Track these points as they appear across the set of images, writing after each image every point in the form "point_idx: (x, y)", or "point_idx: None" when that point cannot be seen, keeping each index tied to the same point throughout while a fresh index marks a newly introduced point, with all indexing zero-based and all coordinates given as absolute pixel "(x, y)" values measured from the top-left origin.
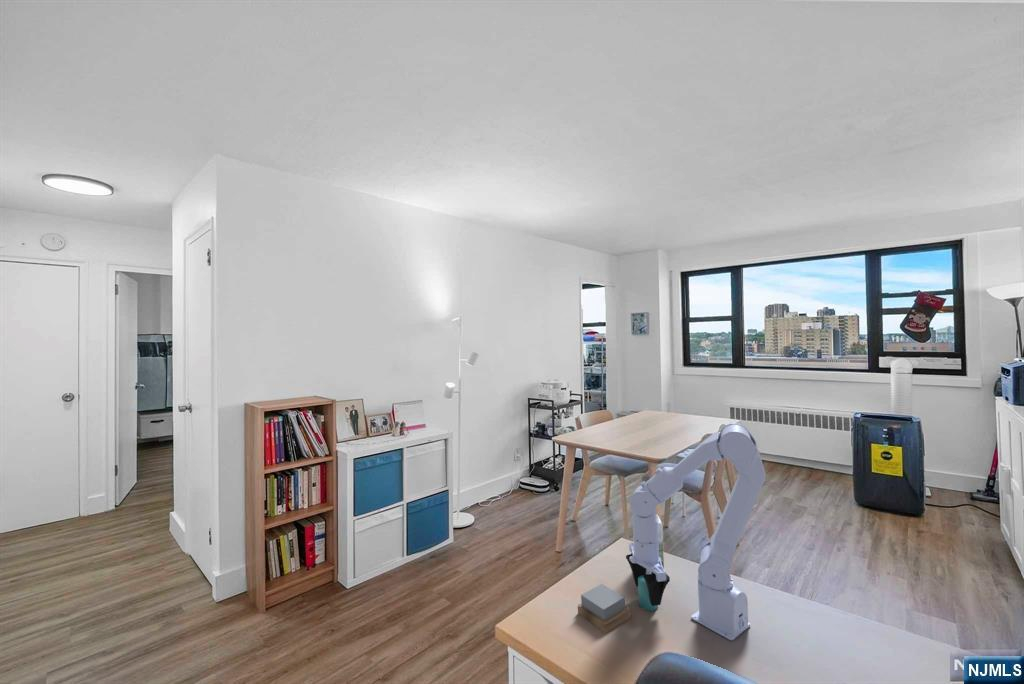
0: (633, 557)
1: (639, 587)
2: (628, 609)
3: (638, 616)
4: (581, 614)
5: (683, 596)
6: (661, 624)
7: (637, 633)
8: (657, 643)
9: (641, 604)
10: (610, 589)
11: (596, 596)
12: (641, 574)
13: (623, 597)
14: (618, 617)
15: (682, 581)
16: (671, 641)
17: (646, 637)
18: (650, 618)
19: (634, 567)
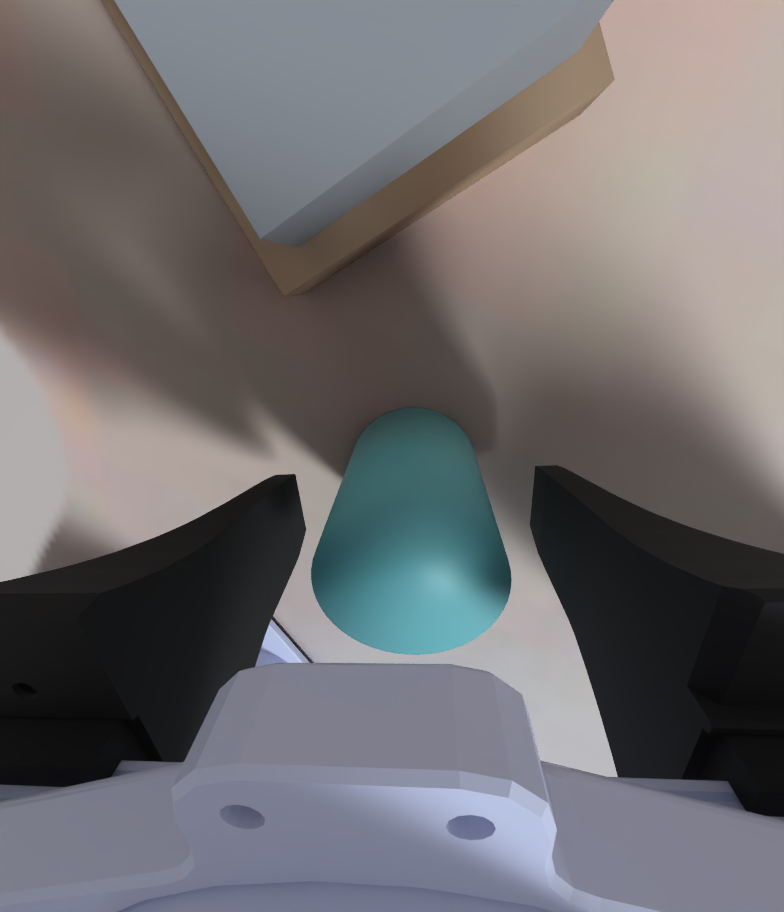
0: (431, 869)
1: (400, 469)
2: (276, 273)
3: (305, 353)
4: None
5: (446, 656)
6: (222, 459)
7: (125, 270)
8: (48, 363)
9: (388, 419)
10: (448, 82)
11: None
12: (570, 572)
13: (259, 223)
14: (183, 128)
15: (568, 705)
16: (81, 447)
17: (93, 317)
18: (279, 421)
19: (625, 570)
